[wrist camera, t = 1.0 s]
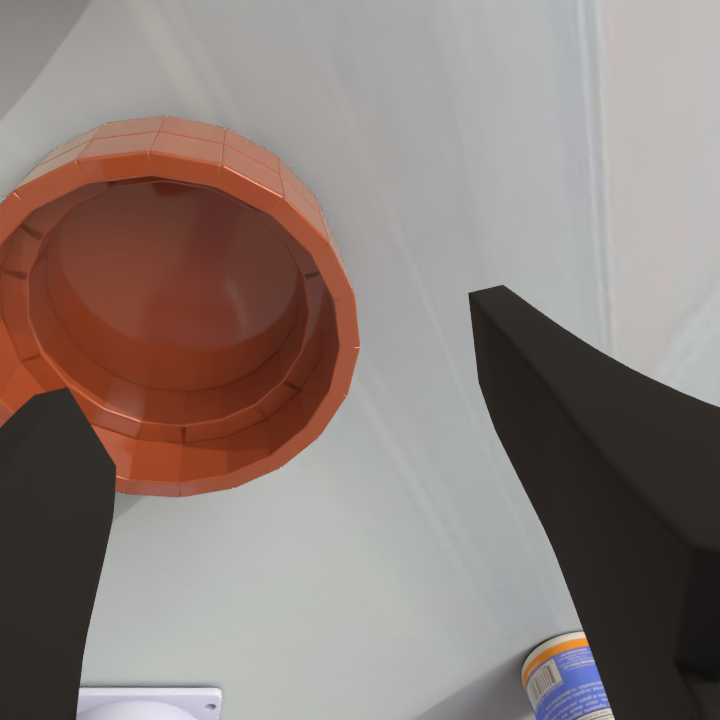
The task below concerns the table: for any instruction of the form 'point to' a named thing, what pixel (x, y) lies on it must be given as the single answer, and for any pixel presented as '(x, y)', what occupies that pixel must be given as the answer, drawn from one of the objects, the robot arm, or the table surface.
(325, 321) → the bowl
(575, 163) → the table surface
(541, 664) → the pill bottle
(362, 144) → the table surface
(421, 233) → the table surface
